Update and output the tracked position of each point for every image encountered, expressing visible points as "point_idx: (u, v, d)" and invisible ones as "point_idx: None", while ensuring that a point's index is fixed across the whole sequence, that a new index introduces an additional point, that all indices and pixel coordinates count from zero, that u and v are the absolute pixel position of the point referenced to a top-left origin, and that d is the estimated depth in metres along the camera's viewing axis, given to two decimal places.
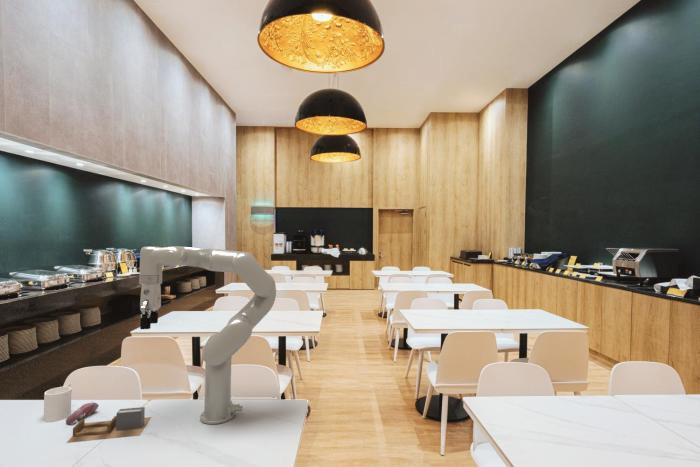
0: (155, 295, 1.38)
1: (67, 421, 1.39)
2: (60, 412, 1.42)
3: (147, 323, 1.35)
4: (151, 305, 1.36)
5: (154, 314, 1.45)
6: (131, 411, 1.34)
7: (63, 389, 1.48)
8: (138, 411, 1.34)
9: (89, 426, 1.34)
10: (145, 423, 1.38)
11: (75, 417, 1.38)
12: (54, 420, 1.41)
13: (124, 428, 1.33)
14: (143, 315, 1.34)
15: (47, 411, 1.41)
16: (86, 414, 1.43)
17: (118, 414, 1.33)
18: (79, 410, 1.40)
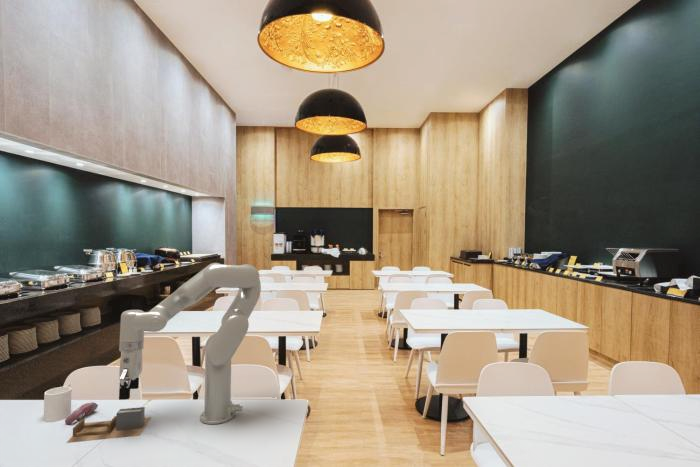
0: (135, 363, 1.33)
1: (66, 421, 1.39)
2: (60, 412, 1.42)
3: (126, 393, 1.30)
4: (131, 374, 1.31)
5: (135, 379, 1.40)
6: (131, 411, 1.34)
7: (63, 389, 1.48)
8: (138, 411, 1.34)
9: (89, 426, 1.34)
10: (145, 423, 1.38)
11: (74, 417, 1.38)
12: (54, 420, 1.41)
13: (124, 428, 1.33)
14: (122, 386, 1.28)
15: (47, 411, 1.41)
16: (85, 414, 1.44)
17: (118, 414, 1.33)
18: (78, 410, 1.40)
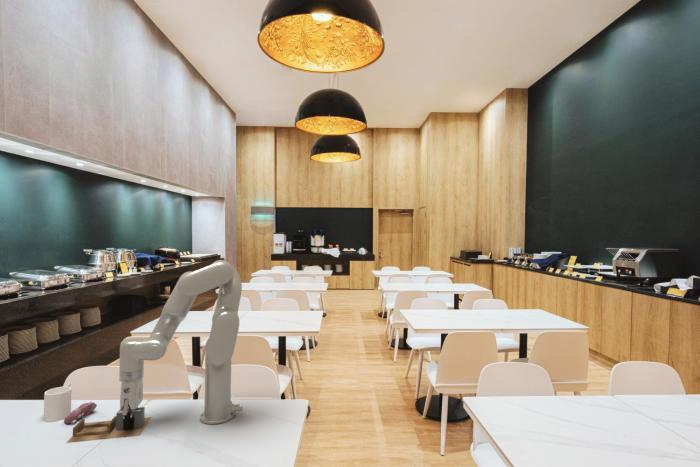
0: (136, 392, 1.33)
1: (65, 421, 1.39)
2: (60, 412, 1.42)
3: (130, 423, 1.33)
4: (132, 404, 1.31)
5: None
6: None
7: (63, 389, 1.48)
8: (138, 411, 1.34)
9: (89, 426, 1.34)
10: (145, 423, 1.38)
11: (73, 417, 1.38)
12: (54, 420, 1.41)
13: None
14: (126, 416, 1.31)
15: (47, 411, 1.41)
16: (84, 414, 1.44)
17: (118, 414, 1.33)
18: (77, 410, 1.40)
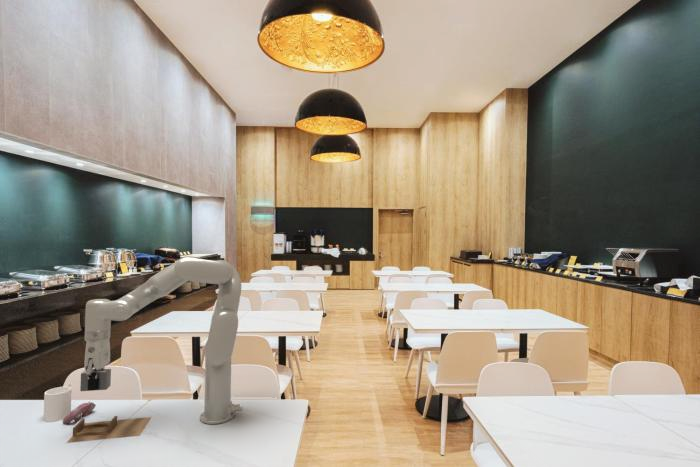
0: (101, 352, 1.30)
1: (64, 421, 1.39)
2: (60, 412, 1.42)
3: (95, 384, 1.30)
4: (96, 364, 1.29)
5: None
6: None
7: (63, 390, 1.48)
8: (103, 372, 1.32)
9: (89, 426, 1.34)
10: (145, 423, 1.38)
11: (72, 417, 1.38)
12: (54, 420, 1.41)
13: None
14: (90, 376, 1.29)
15: (47, 411, 1.41)
16: (83, 414, 1.44)
17: (83, 374, 1.30)
18: (76, 410, 1.40)
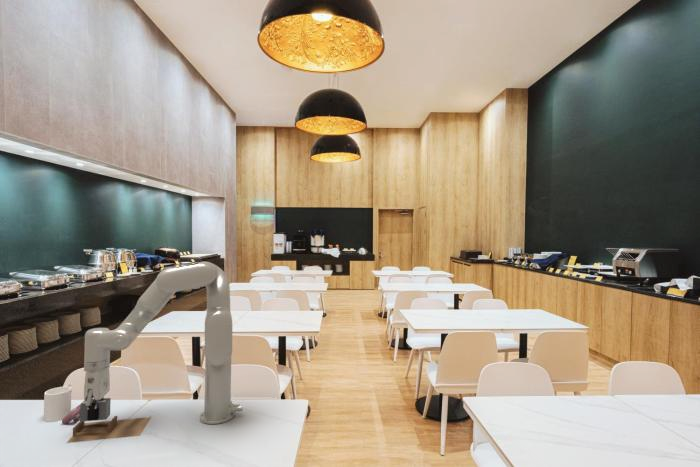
0: (101, 382, 1.30)
1: (63, 421, 1.39)
2: (60, 412, 1.42)
3: (94, 414, 1.30)
4: (96, 394, 1.28)
5: None
6: None
7: (63, 390, 1.48)
8: (103, 402, 1.32)
9: (89, 426, 1.34)
10: (145, 423, 1.38)
11: (71, 417, 1.38)
12: (54, 420, 1.41)
13: None
14: (90, 407, 1.28)
15: (47, 411, 1.41)
16: None
17: (82, 405, 1.30)
18: (75, 410, 1.40)
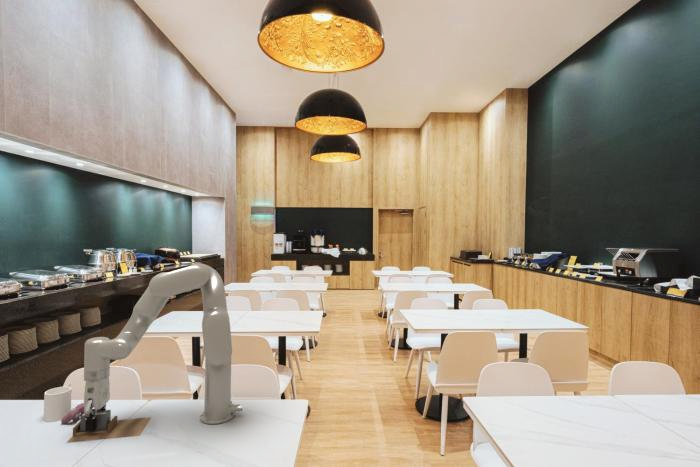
0: (100, 392, 1.30)
1: (62, 421, 1.39)
2: (60, 412, 1.42)
3: (93, 424, 1.28)
4: (96, 404, 1.28)
5: None
6: (96, 414, 1.31)
7: (63, 389, 1.48)
8: (103, 414, 1.32)
9: None
10: (145, 423, 1.38)
11: (71, 417, 1.38)
12: (54, 420, 1.41)
13: (88, 431, 1.30)
14: (88, 417, 1.27)
15: (47, 411, 1.41)
16: (81, 414, 1.44)
17: (82, 417, 1.30)
18: (75, 410, 1.40)
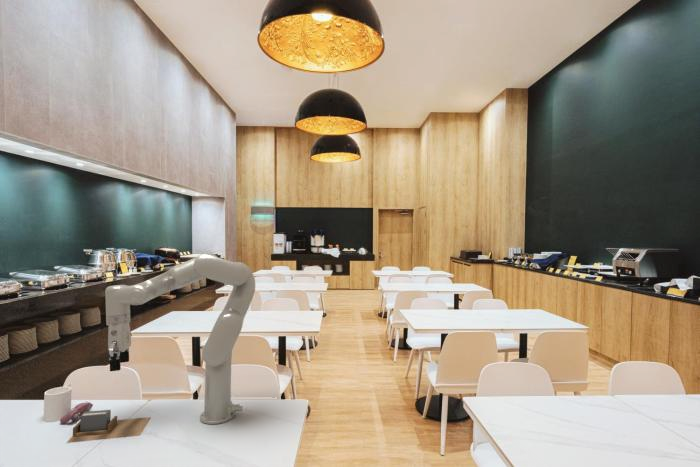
0: (123, 335, 1.36)
1: (61, 421, 1.39)
2: (60, 412, 1.42)
3: (117, 365, 1.33)
4: (120, 346, 1.34)
5: (125, 353, 1.43)
6: (96, 414, 1.31)
7: (63, 389, 1.48)
8: (103, 414, 1.32)
9: None
10: (145, 423, 1.38)
11: (70, 417, 1.38)
12: (54, 420, 1.41)
13: (88, 431, 1.30)
14: (112, 357, 1.31)
15: (47, 411, 1.41)
16: (80, 414, 1.44)
17: (82, 417, 1.30)
18: (73, 410, 1.40)
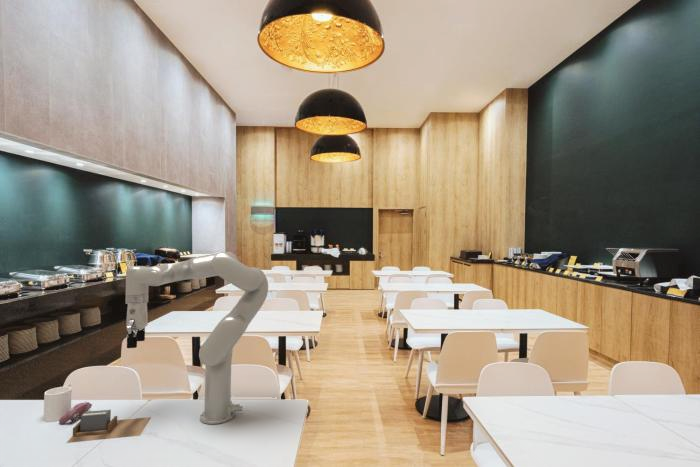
0: (141, 314, 1.41)
1: (60, 421, 1.39)
2: (60, 412, 1.42)
3: (133, 342, 1.38)
4: (137, 324, 1.39)
5: (141, 332, 1.48)
6: (96, 414, 1.31)
7: (63, 389, 1.48)
8: (103, 414, 1.32)
9: None
10: (145, 423, 1.38)
11: (69, 417, 1.38)
12: (54, 420, 1.41)
13: (88, 431, 1.30)
14: (129, 334, 1.37)
15: (47, 411, 1.41)
16: (79, 414, 1.44)
17: (82, 417, 1.30)
18: (73, 410, 1.40)
